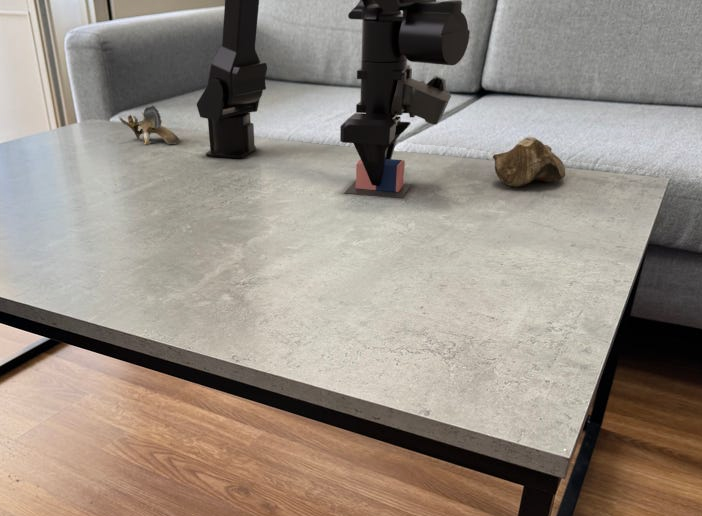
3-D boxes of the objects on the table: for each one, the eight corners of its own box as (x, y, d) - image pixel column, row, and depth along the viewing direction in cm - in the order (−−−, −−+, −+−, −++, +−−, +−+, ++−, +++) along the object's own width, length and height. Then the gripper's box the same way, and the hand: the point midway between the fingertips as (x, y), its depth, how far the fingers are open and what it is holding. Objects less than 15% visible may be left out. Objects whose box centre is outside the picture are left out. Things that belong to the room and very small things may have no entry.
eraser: (355, 188, 96) (356, 163, 94) (361, 182, 99) (362, 157, 97) (398, 192, 94) (400, 166, 92) (403, 185, 97) (405, 159, 95)
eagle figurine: (116, 140, 122) (158, 133, 117) (119, 100, 122) (161, 92, 118) (144, 155, 128) (184, 149, 124) (146, 117, 129) (187, 110, 125)
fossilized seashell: (554, 153, 99) (483, 168, 100) (564, 118, 93) (488, 134, 94) (571, 194, 96) (497, 208, 96) (582, 160, 90) (504, 176, 91)
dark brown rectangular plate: (344, 193, 95) (344, 192, 95) (355, 180, 100) (355, 180, 100) (402, 198, 93) (402, 197, 92) (411, 185, 97) (411, 184, 97)
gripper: (435, 72, 78) (425, 207, 86) (459, 49, 93) (449, 166, 101) (339, 70, 82) (338, 200, 90) (377, 49, 97) (373, 162, 105)
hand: (379, 181), depth 96 cm, fingers open, 3 cm apart
